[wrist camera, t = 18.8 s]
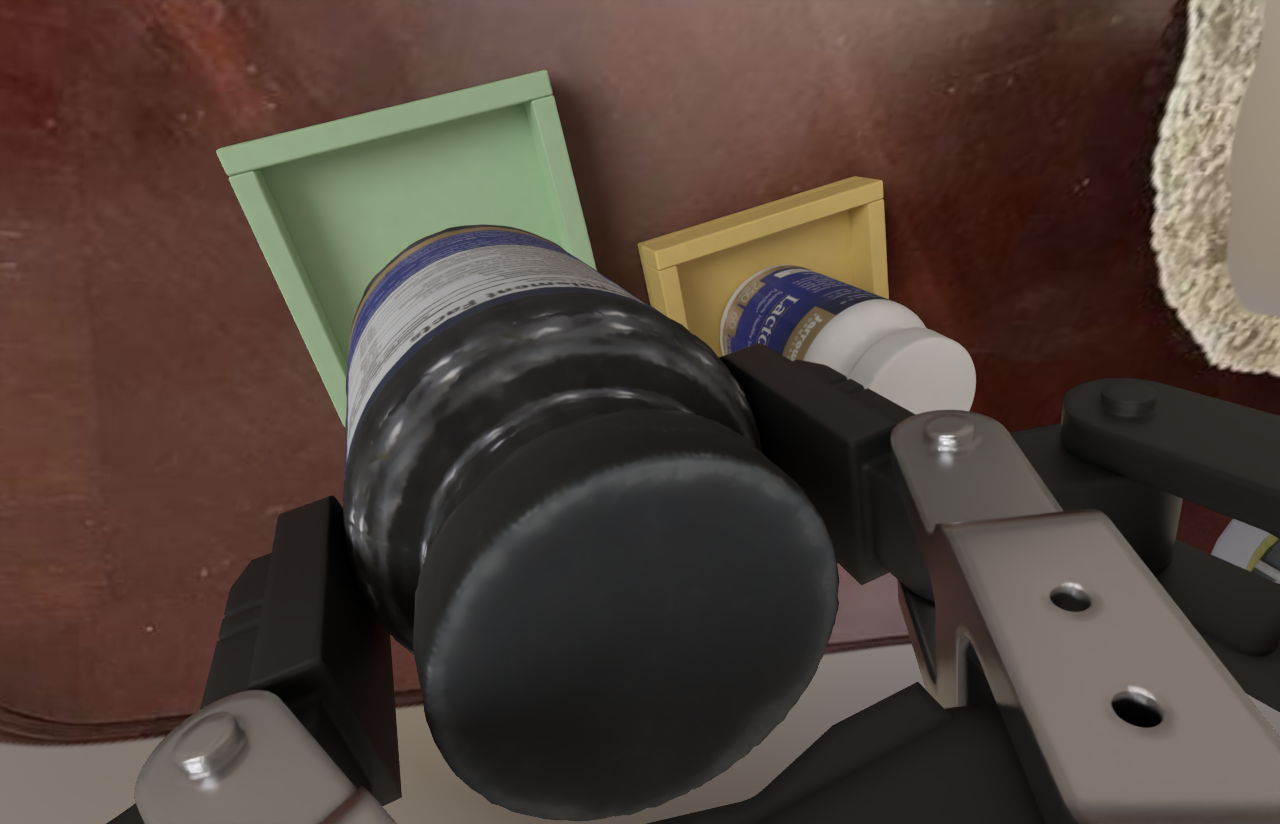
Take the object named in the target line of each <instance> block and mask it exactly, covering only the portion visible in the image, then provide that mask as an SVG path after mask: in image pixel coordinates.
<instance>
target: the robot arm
mask: <svg viewBox="0 0 1280 824" xmlns="http://www.w3.org/2000/svg"><path fill="white" fill-rule="evenodd" d="M719 358H720V359H721V361H722V362H723V363H724V364H725V365H726V366H727V368H728V369H729V370H730V372H731V374H732V376H734V377H735V379H736V381H737V382H738V383H739V384H740V385H741V386H742V389H743V391H744V393H745V396H746V400H747V401H748V402H749V406H750V408H751V410H752V412H753V416H754V418H755V420H756V423H757V428H758V430H759V432H760V440H761V448H762V450H763V455H765V456H766V458H767V459H769V460H770V461H771V462H772V463H774V464H775V465H776V466H778V467H779V468H780V469H781V470H782V471H783V472H785V473H786V474H787V475H788V476H789V477H790V478H791V479H793V480H794V481H795V482H796V483H797V484H798V485H799V486H800V487H801V488H802V489H803V490H804V492H805V493H806V495H807V496H808V498H809V499H810V501H811V502H812V503H813V505H814V506H815V508H816V509H817V511H818V512H819V513H820V515H821V516H822V517H823V519H824V522H825V524H826V527H827V530H828V533H829V535H830V537H831V539H832V541H833V543H834V549H835V554H836V557H837V562H838V563H839V564H840V565H841V566H842V567H843V568H844V569H845V570H846V571H847V572H848V573H849V574H850V575H851V576H852V577H854V578H855V579H856V580H857V581H858V582H859V583H860V584H861V585H863V584H865V583H868V582H870V581H872V580H874V579H876V578H878V577H880V576H883V575H885V574H887V573H889V572H890V573H891V574H892V575H894V576H895V577H896V578H897V580H898V598H899V604H900V607H901V610H902V613H903V617H904V620H905V623H906V626H907V630H908V633H909V636H910V639H911V643H912V646H913V649H914V652H915V656H916V659H917V662H918V665H919V669H920V672H921V675H922V678H923V682H924V685H925V688H926V690H925V688H923V686H922V685H921V684H920V683H919V682H916V683H915V684H913V685H911V686H909V687H907V688H905V689H903V690H901V691H899V692H897V693H895V694H893V695H891V696H889V697H887V698H885V699H883V700H881V701H879V702H877V703H876V704H874V705H872V706H870V707H868V708H866V709H864V710H862V711H860V712H858V713H856V714H854V715H852V716H850V717H848V718H846V719H845V720H843V721H840V722H839V723H837V724H835V725H833V726H832V727H831V728H829V730H827V732H825V733H824V734H823V735H822V736H821V737H820V738H819V739H818V740H816V741H815V742H814V743H813V744H812V745H811V746H810V747H809V748H808V749H807V750H806V751H804V753H802V754H801V755H800V756H799V757H798V758H797V759H796V760H795V761H794V762H793V763H792V764H790V765H789V766H788V767H787V768H786V769H785V770H784V771H783V772H782V773H781V774H780V775H778V777H776V778H775V779H774V780H773V781H772V782H771V783H770V784H769V785H768V786H766V787H765V788H764V789H763V790H762V791H761V792H760V793H758V794H757V795H756V796H754V797H752V798H750V799H748V800H745V801H742V802H738V803H734V804H729V805H725V806H720V807H716V808H712V809H708V810H704V811H699V812H695V813H690V814H686V815H682V816H677V817H673V818H669V819H665V820H660V821H656V822H652V823H647V824H1280V737H1279V735H1278V734H1277V733H1276V731H1275V730H1274V729H1273V727H1272V726H1271V725H1270V724H1269V722H1268V721H1267V720H1266V719H1265V717H1264V716H1263V715H1262V713H1261V712H1260V711H1259V710H1258V708H1257V707H1256V706H1255V705H1254V703H1253V702H1252V701H1251V699H1250V698H1249V697H1248V695H1250V696H1252V697H1254V698H1255V699H1257V700H1259V701H1261V702H1262V703H1264V704H1266V705H1268V706H1269V707H1271V708H1273V709H1275V710H1277V711H1278V712H1280V584H1278V583H1275V582H1273V581H1271V580H1268V579H1266V578H1264V577H1262V576H1259V575H1257V574H1255V573H1252V572H1250V571H1248V570H1246V569H1243V568H1241V567H1239V566H1237V565H1234V564H1232V563H1230V562H1227V561H1225V560H1223V559H1221V558H1218V557H1216V556H1214V555H1212V554H1209V553H1207V552H1205V551H1202V550H1200V549H1198V548H1196V547H1193V546H1191V545H1189V544H1186V543H1184V542H1182V541H1180V540H1177V539H1176V534H1177V528H1178V523H1179V518H1180V512H1181V507H1182V501H1183V499H1185V500H1187V501H1190V502H1192V503H1195V504H1197V505H1200V506H1202V507H1205V508H1208V509H1210V510H1213V511H1215V512H1218V513H1220V514H1223V515H1225V516H1228V517H1230V518H1233V519H1236V520H1238V521H1241V522H1243V523H1246V524H1248V525H1251V526H1253V527H1256V528H1258V529H1261V530H1263V531H1266V532H1268V533H1270V534H1272V535H1273V536H1275V537H1277V538H1278V539H1279V540H1280V416H1278V415H1275V414H1271V413H1267V412H1264V411H1260V410H1256V409H1253V408H1249V407H1246V406H1242V405H1238V404H1235V403H1231V402H1227V401H1224V400H1220V399H1217V398H1213V397H1209V396H1206V395H1202V394H1198V393H1195V392H1191V391H1188V390H1184V389H1180V388H1177V387H1173V386H1169V385H1166V384H1162V383H1158V382H1154V381H1148V380H1142V379H1131V378H1110V379H1100V380H1094V381H1090V382H1086V383H1083V384H1080V385H1078V386H1076V387H1074V388H1072V389H1071V390H1069V391H1068V392H1067V393H1066V394H1065V396H1064V399H1063V408H1062V420H1061V423H1060V424H1054V425H1049V426H1043V427H1038V428H1033V429H1027V430H1022V431H1016V432H1010V433H1009V432H1008V431H1007V429H1006V428H1005V427H1004V426H1003V425H1002V424H1000V423H999V422H998V421H996V420H994V419H992V418H990V417H988V416H985V415H982V414H979V413H975V412H970V411H963V410H935V411H929V412H924V413H920V414H914V413H912V412H910V411H909V410H907V409H905V408H903V407H901V406H899V405H898V404H896V403H894V402H892V401H890V400H889V399H887V398H885V397H883V396H881V395H879V394H878V393H876V392H874V391H872V390H870V389H869V388H867V389H864V386H863V385H861V384H859V383H858V382H856V381H854V380H852V379H847V377H846V376H845V375H843V374H841V373H839V372H838V371H836V370H834V369H832V368H830V367H828V366H827V365H823V364H818V363H813V362H808V361H804V360H799V359H796V360H794V361H791V360H789V359H788V358H786V357H784V356H783V355H781V354H779V353H777V352H776V351H774V350H772V349H771V348H769V347H767V346H765V345H764V344H761V343H758V344H755V345H752V346H749V347H746V348H743V349H741V350H738V351H735V352H732V353H730V354H727V355H724V356H721V357H719ZM224 615H225V619H223V621H222V625H221V629H220V633H219V637H220V641H217V645H216V649H215V653H214V657H213V661H212V665H211V669H210V673H209V676H208V680H207V684H206V688H205V692H204V696H203V700H202V704H201V708H200V710H199V711H197V712H196V713H194V714H193V715H191V716H190V717H189V718H187V719H186V720H185V721H183V722H182V723H181V724H179V725H178V726H177V727H176V728H175V729H174V730H173V731H171V732H170V733H169V734H168V735H167V736H166V737H165V738H164V739H163V740H162V741H161V743H160V744H159V745H158V746H157V747H156V748H155V750H154V751H153V752H152V754H151V755H150V756H149V758H148V759H147V761H146V762H145V764H144V765H143V767H142V769H141V771H140V774H139V776H138V778H137V782H136V785H135V794H134V798H135V801H136V803H135V804H134V805H133V806H131V807H130V808H129V809H127V810H126V811H124V812H123V813H121V814H120V815H119V816H117V817H116V818H114V819H113V820H111V821H110V822H108V823H107V824H397V823H396V822H395V821H394V820H393V819H392V817H391V816H390V815H389V814H388V813H387V811H386V810H385V809H384V808H383V807H382V806H384V805H386V804H388V803H391V802H393V801H395V800H397V799H399V798H401V797H402V795H401V780H400V766H399V753H398V738H397V726H396V711H395V697H394V683H393V669H392V655H391V642H390V634H389V633H388V632H387V631H386V630H385V628H384V627H383V626H382V625H381V624H380V623H379V622H378V621H377V620H376V619H375V617H374V614H373V613H372V611H371V609H370V608H369V607H368V606H367V604H366V601H365V599H364V596H363V594H362V592H361V590H360V588H359V586H358V584H357V581H356V578H355V575H354V571H353V568H352V565H351V563H350V560H349V558H348V553H347V539H346V533H345V530H344V526H343V508H342V506H341V505H340V503H339V502H338V500H337V499H336V498H335V497H334V496H329V497H326V498H324V499H321V500H318V501H315V502H312V503H310V504H307V505H304V506H301V507H299V508H296V509H293V510H290V511H287V512H285V513H282V514H280V515H279V517H278V521H277V526H276V532H275V537H274V543H273V549H272V553H270V554H267V555H265V556H262V557H259V558H257V559H254V560H252V561H251V562H250V563H249V565H248V566H247V567H246V569H245V570H244V571H243V573H242V574H241V575H240V577H239V578H238V579H237V580H236V582H235V583H234V584H233V586H232V587H231V589H230V593H229V597H228V601H227V605H226V609H225V613H224ZM1247 694H1248V695H1247Z"/></svg>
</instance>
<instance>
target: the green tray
mask: <svg viewBox="0 0 1280 824" xmlns="http://www.w3.org/2000/svg"><path fill="white" fill-rule="evenodd" d="M552 94H553V91H552V87H551V83H550V79H549V75H548V72H547V70H542V71H537V72H532V73H528V74H524V75H520V76H516V77H512V78H508V79H503V80H499V81H495V82H491V83H487V84H483V85H479V86H474V87H470V88H466V89H462V90H458V91H454V92H450V93H446V94H441V95H437V96H433V97H429V98H425V99H421V100H417V101H412V102H408V103H404V104H400V105H396V106H392V107H388V108H383V109H379V110H375V111H371V112H367V113H363V114H359V115H355V116H350V117H346V118H342V119H338V120H334V121H330V122H326V123H321V124H317V125H313V126H309V127H305V128H301V129H297V130H293V131H288V132H284V133H280V134H276V135H272V136H268V137H264V138H259V139H255V140H251V141H247V142H243V143H239V144H235V145H230V146H226V147H223V148H220V149H218V150H216V153H217V155H218V157H219V159H220V162H221V164H222V166H223V168H224V170H225V172H226V174H227V175H228V176H230V177H229V181H230V183H231V185H232V187H233V189H234V192H235V194H236V196H237V198H238V200H239V202H240V205H241V207H242V209H243V211H244V213H245V215H246V217H247V220H248V222H249V224H250V226H251V228H252V230H253V232H254V235H255V237H256V239H257V241H258V243H259V245H260V247H261V250H262V252H263V254H264V256H265V258H266V260H267V262H268V265H269V267H270V269H271V271H272V273H273V275H274V277H275V280H276V282H277V284H278V286H279V288H280V290H281V292H282V295H283V297H284V299H285V301H286V303H287V305H288V307H289V310H290V312H291V314H292V316H293V318H294V320H295V323H296V325H297V327H298V329H299V331H300V333H301V335H302V338H303V340H304V342H305V344H306V346H307V348H308V350H309V353H310V355H311V357H312V359H313V361H314V363H315V365H316V368H317V370H318V372H319V374H320V376H321V378H322V380H323V383H324V385H325V387H326V389H327V391H328V393H329V395H330V398H331V400H332V402H333V404H334V406H335V408H336V410H337V413H338V415H339V417H340V419H341V421H342V423H343V425H344V427H345V421H346V406H347V396H346V377H347V369H348V352H349V343H350V337H351V328H352V323H353V319H354V316H355V313H356V311H357V308H358V305H359V303H360V301H361V299H362V297H363V294H364V291H365V289H366V287H367V286H368V284H369V283H370V281H371V280H372V279H373V277H374V276H375V275H376V274H377V273H379V272H380V271H381V270H382V269H383V268H384V267H385V266H386V265H387V264H388V263H389V262H390V261H391V260H392V259H393V258H395V257H396V256H397V255H398V254H399V253H400V252H402V251H403V250H404V249H405V248H407V247H408V246H409V245H411V244H412V243H414V242H416V241H418V240H420V239H422V238H424V237H426V236H429V235H432V234H435V233H437V232H440V231H442V230H445V229H447V228H451V227H458V226H465V225H481V224H483V225H499V226H509V227H514V228H518V229H522V230H525V231H528V232H531V233H533V234H536V235H538V236H541V237H543V238H545V239H548V240H550V241H552V242H554V243H556V244H557V245H559V246H560V247H562V248H563V249H564V250H565V251H567V252H568V253H570V254H571V255H573V256H575V257H576V258H578V259H579V260H581V261H582V262H584V263H586V264H587V265H589V266H590V267H592V268H593V269H595V270H596V271H597V269H596V265H595V261H594V257H593V253H592V248H591V244H590V240H589V236H588V232H587V228H586V224H585V220H584V216H583V212H582V208H581V204H580V200H579V196H578V191H577V187H576V183H575V179H574V175H573V171H572V167H571V163H570V159H569V155H568V151H567V147H566V143H565V139H564V135H563V130H562V126H561V122H560V118H559V114H558V110H557V106H556V102H555V98H554V96H553V95H552Z"/></svg>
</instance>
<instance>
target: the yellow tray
mask: <svg viewBox="0 0 1280 824" xmlns="http://www.w3.org/2000/svg"><path fill="white" fill-rule="evenodd" d="M882 198H883V181H882V180H876V179H869V178H862V177H857V176H853V177H850V178H847V179H844V180H840V181H837V182H834V183H831V184H828V185H824V186H821V187H818V188H815V189H811V190H808V191H805V192H802V193H799V194H795V195H792V196H789V197H786V198H782V199H779V200H776V201H773V202H770V203H766V204H763V205H760V206H757V207H753V208H750V209H747V210H744V211H741V212H737V213H734V214H731V215H728V216H724V217H721V218H718V219H715V220H712V221H708V222H705V223H702V224H699V225H695V226H692V227H689V228H686V229H683V230H679V231H676V232H673V233H670V234H667V235H663V236H660V237H657V238H654V239H650V240H647V241H644V242H641V243H638V249H639V254H640V258H641V263H642V268H643V272H644V277H645V282H646V286H647V291H648V296H649V300H650V305H651V306H652V307H653V308H655V309H656V310H658V311H659V312H661V313H662V314H664V315H665V316H667V317H668V318H670V319H672V320H675V321H676V322H678V323H680V324H682V325H683V326H684V327H685V328H686V329H688V330H689V331H690V332H691V333H692V334H694V335H696V336H697V337H699V338H700V339H701V340H702V341H704V342H705V343H706V344H707V345H708V346H709V347H710V348H711V349H712V350H713V351H714V352H715V353H716V355H717V356H718V357H721V356H723V354H722V351H721V346H720V324H721V319H722V316H723V313H724V310H725V307H726V305H727V303H728V302H729V300H730V298H731V297H732V295H733V294H734V292H735V291H736V290H737V289H738V287H739V286H740V285H741V284H742V283H743V282H744V281H745V280H747V279H748V278H749V277H751V276H752V275H754V274H755V273H757V272H759V271H761V270H763V269H765V268H768V267H771V266H776V265H796V266H800V267H804V268H807V269H810V270H812V271H815V272H818V273H820V274H823V275H825V276H828V277H831V278H833V279H836V280H838V281H841V282H844V283H846V284H849V285H852V286H854V287H857V288H860V289H862V290H865V291H868V292H870V293H873V294H876V295H878V296H881V297H884V298H886V299H889V293H888V273H887V253H886V232H885V212H884V199H882Z"/></svg>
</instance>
